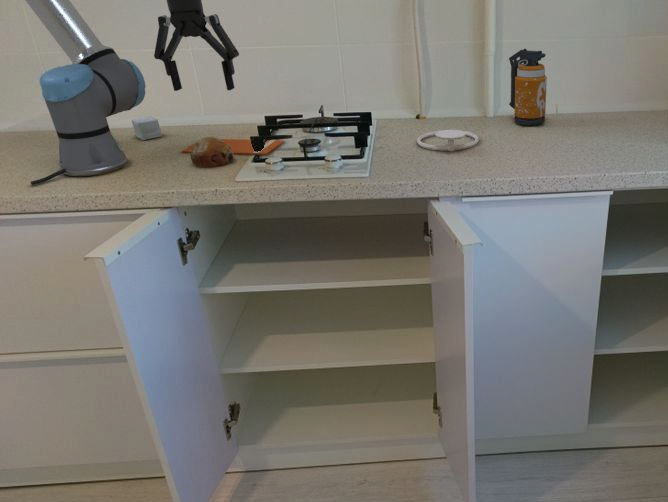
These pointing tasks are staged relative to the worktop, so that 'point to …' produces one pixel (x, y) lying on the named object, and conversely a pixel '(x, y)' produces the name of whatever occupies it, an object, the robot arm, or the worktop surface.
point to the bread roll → (211, 153)
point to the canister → (528, 87)
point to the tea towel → (246, 146)
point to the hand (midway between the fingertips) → (204, 89)
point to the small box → (146, 128)
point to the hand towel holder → (449, 136)
